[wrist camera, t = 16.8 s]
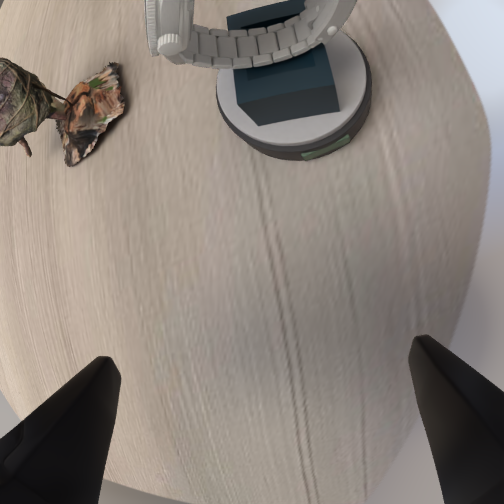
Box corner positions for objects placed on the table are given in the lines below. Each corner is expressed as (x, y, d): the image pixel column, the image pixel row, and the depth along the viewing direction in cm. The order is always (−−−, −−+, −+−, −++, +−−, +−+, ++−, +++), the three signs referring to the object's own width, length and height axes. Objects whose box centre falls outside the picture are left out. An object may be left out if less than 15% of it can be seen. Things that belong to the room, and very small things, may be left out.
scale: (397, 126, 16) (403, 109, 14) (258, 185, 19) (244, 177, 16) (328, 18, 17) (323, -5, 14) (210, 72, 20) (193, 55, 17)
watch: (215, 54, 17) (98, -58, 6) (348, 25, 14) (313, -135, 4) (223, 136, 17) (69, 39, 6) (374, 108, 14) (376, -65, 4)
